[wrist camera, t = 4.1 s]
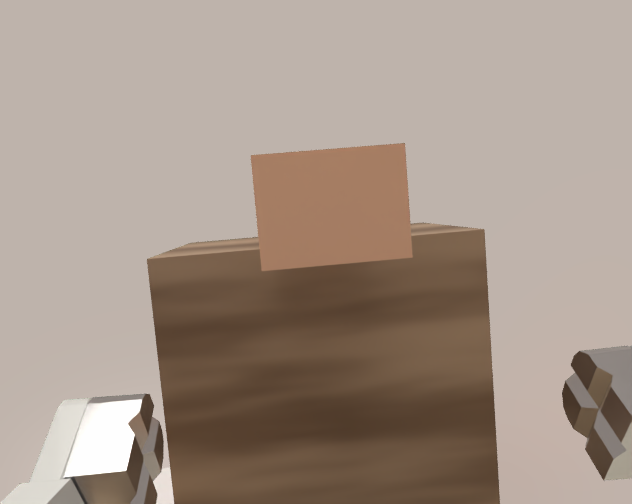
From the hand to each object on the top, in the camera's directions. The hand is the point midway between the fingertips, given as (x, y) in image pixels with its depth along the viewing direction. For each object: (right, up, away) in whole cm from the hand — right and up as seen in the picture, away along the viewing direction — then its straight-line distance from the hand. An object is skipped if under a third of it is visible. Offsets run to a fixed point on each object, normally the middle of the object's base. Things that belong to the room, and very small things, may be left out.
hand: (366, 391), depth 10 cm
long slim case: (-1, +3, +14) cm, 14 cm away
